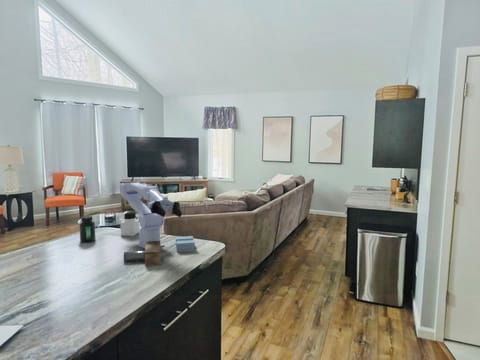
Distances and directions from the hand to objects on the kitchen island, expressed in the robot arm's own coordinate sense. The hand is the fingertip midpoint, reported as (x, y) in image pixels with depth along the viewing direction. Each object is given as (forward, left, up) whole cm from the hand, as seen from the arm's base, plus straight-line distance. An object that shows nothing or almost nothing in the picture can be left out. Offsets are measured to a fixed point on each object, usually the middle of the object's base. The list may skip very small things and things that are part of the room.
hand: (172, 214), depth 131 cm
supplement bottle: (-53, -4, -19) cm, 56 cm away
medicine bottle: (-45, +15, -19) cm, 51 cm away
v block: (-6, +14, -19) cm, 24 cm away
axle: (-11, -7, -17) cm, 22 cm away
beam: (-8, -4, -19) cm, 21 cm away
